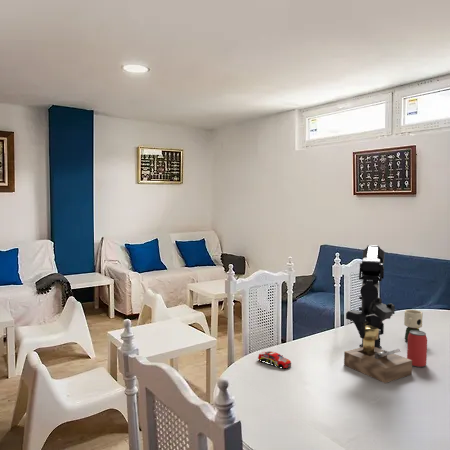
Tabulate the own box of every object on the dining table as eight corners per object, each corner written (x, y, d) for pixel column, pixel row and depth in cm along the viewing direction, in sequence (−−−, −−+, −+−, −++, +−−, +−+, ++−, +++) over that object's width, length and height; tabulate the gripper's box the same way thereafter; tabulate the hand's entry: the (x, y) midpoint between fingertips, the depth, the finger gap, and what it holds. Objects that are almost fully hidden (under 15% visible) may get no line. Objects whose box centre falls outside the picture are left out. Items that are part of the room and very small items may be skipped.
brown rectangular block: (344, 364, 158) (344, 346, 157) (369, 357, 165) (370, 340, 164) (385, 383, 142) (385, 362, 142) (411, 374, 150) (412, 355, 149)
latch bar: (377, 358, 151) (375, 353, 152) (383, 356, 153) (381, 352, 154) (394, 353, 145) (392, 348, 146) (400, 351, 147) (398, 346, 147)
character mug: (417, 346, 179) (418, 315, 178) (399, 342, 183) (400, 312, 182) (424, 340, 187) (425, 310, 186) (407, 336, 191) (408, 307, 191)
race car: (294, 367, 156) (294, 356, 156) (285, 371, 152) (286, 360, 152) (264, 357, 165) (265, 347, 164) (256, 361, 160) (256, 351, 160)
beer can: (428, 368, 155) (429, 335, 154) (408, 366, 156) (410, 334, 156) (423, 361, 162) (424, 330, 161) (405, 360, 163) (406, 329, 162)
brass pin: (369, 355, 152) (370, 331, 152) (355, 349, 158) (356, 326, 157) (381, 351, 156) (382, 328, 155) (367, 346, 161) (368, 324, 161)
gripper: (370, 302, 144) (369, 347, 145) (406, 296, 153) (404, 338, 154) (345, 295, 153) (344, 338, 154) (380, 290, 163) (378, 330, 164)
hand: (368, 336), depth 156 cm, fingers closed on brass pin, 6 cm apart
